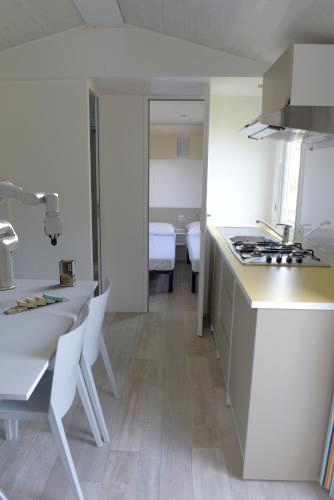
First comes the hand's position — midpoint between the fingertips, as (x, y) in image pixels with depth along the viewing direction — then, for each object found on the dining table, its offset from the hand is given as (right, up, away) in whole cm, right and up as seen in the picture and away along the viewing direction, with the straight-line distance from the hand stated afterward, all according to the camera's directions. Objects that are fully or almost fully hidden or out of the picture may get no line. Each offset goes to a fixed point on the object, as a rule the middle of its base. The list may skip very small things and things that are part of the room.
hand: (54, 245), depth 223 cm
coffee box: (+3, -26, +20) cm, 33 cm away
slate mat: (0, -33, -14) cm, 36 cm away
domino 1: (-9, -33, -22) cm, 41 cm away
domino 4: (+3, -31, -12) cm, 34 cm away
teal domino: (+6, -31, -9) cm, 32 cm away
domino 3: (-1, -32, -15) cm, 35 cm away
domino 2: (-5, -33, -19) cm, 38 cm away
